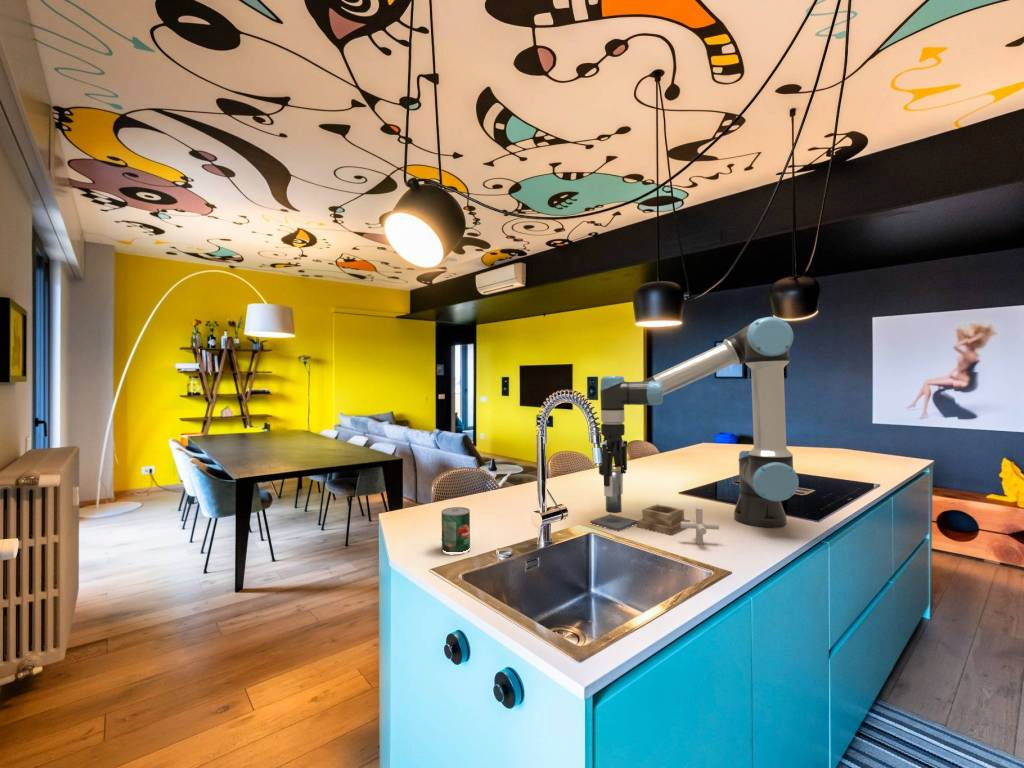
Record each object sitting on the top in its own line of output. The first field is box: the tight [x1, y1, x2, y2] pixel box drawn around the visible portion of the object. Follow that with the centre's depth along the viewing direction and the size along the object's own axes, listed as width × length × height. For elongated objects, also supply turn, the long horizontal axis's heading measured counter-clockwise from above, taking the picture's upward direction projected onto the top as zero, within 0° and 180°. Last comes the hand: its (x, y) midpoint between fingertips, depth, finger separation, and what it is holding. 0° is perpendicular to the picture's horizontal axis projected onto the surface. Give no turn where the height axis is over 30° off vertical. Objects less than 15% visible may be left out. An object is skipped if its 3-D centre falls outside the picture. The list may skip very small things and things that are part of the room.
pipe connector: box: [680, 507, 720, 545], centre depth 132 cm, size 10×10×10 cm
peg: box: [605, 464, 623, 514], centre depth 152 cm, size 5×5×14 cm
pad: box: [589, 513, 637, 532], centre depth 151 cm, size 11×11×1 cm
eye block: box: [635, 504, 691, 536], centre depth 147 cm, size 12×12×6 cm
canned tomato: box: [440, 506, 471, 552], centre depth 129 cm, size 8×8×11 cm
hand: (613, 494), depth 151 cm, fingers closed on peg, 5 cm apart
